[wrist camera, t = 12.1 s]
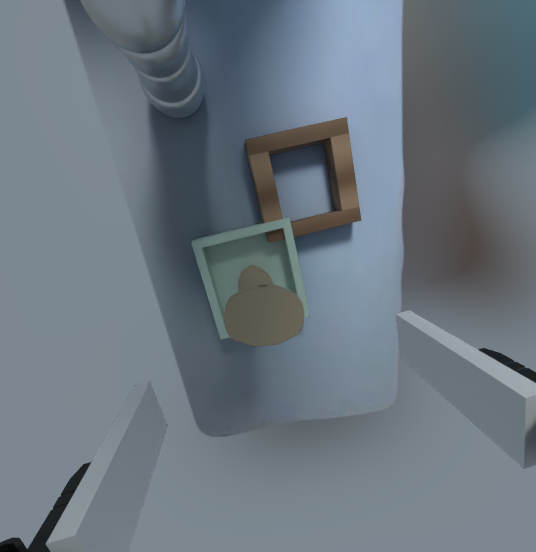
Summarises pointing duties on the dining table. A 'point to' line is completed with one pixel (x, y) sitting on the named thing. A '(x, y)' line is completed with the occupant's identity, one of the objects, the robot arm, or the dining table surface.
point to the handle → (262, 310)
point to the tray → (246, 263)
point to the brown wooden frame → (338, 168)
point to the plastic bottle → (154, 49)
